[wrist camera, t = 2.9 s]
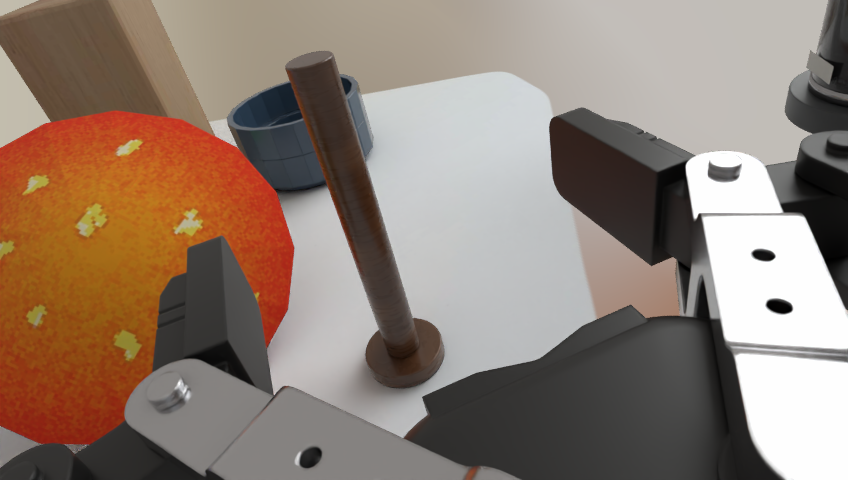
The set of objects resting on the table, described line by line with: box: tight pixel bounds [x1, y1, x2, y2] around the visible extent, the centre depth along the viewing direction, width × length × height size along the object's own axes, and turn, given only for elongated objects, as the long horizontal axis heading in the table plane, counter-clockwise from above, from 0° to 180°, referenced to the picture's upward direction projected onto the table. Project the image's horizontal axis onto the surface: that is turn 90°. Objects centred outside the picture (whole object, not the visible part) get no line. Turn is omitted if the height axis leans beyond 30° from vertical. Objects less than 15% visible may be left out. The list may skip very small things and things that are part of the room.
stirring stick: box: [285, 51, 444, 388], centre depth 26 cm, size 5×5×18 cm
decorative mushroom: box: [0, 110, 294, 445], centre depth 32 cm, size 15×21×15 cm
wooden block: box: [0, 0, 215, 136], centre depth 52 cm, size 10×10×20 cm
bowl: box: [227, 74, 373, 190], centre depth 54 cm, size 13×13×7 cm
